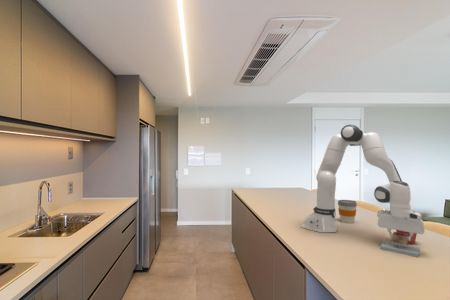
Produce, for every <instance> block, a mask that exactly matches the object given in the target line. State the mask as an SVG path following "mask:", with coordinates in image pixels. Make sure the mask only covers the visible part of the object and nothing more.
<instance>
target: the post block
mask: <svg viewBox="0 0 450 300" xmlns="http://www.w3.org/2000/svg"><path fill="white" fill-rule="evenodd" d="M379 247H380V250H384V251H388V252H391V253H392V252H393V253H398V254H402V255H406V256H411V257H416V258H419V256H420V251H421V246H414V245H411V244H407V245H404V244H399V243H394V242H392V241H390V240H383V242H382V243H381V244H380V245H379Z"/></svg>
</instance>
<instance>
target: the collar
mask: <svg viewBox="0 0 450 300" xmlns="http://www.w3.org/2000/svg"><path fill="white" fill-rule="evenodd" d="M407 236H408V234H404V233H398V232H396V231H393V233H392V237H391V238H392V239H391V242H394V243H399V244H404V245H408V244H407V242H408V240H407Z"/></svg>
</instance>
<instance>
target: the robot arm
mask: <svg viewBox="0 0 450 300" xmlns="http://www.w3.org/2000/svg"><path fill="white" fill-rule="evenodd" d="M348 146H350V147H357V146H360V147H361V149H362V152H363V156H364V160H365V161H366V162H367V164H369V165H370V166H374V167H377V168H378V169H380V170H382V171H383V172H384V173H385V175H386V177H387V179H388V181H389V183H388V184H384V185H378V186H377V187H376V188H375V189H374V192H373V196H374V198H375V200H376V201H377V202H378V203H381V204H390V205H389V210H384V209H381V210H377V215H376V216H377V227H379V228H383V229H387V232H388V234H389V237H390V238H392V234H393V233H392V230H394V231H396V230H400V231H405V232H410V234H411V235H410V236H409V237H408V236H407V240H408V241H411V237H412V235H413V233H417V234H418V235H423V234H425V223H424V220H423V219H422V214H421V212H418V211H415V210H413V209H411V204H410V202H411V198H412V197H411V187H410V185H409V184H408V183H407V182H405V181H402V178H401V176H400V174H399V171H398V169H397V167H396V164H395V163H394V161H393V160H392V159H391V158H390V157H389V155H388V154H387V152H386V150H385V147H384V144H383V141H382V139H381V137H380V135H379V134H378V133H376V132H373V131H371V132H366V131H365V130H363V128H361V127H359V126H357V125H354V124H346V125H344V126H343V127H342V128H341V130H340V134H339V133H335V134H334V135H332V136H331V138H330V140H329V142H328V144H327V147H326V150H325V153H324V155H323V159H322V161H321V164H319V165H320V166H319V168H318V171H317V174H316V177H315V179H316V181H317V182H316V183H317V188H316V206H315V207H313V209H312V210H313V212H312V213H310V214H309V215H308V216H306V218H304V219H305V220H304V223H302V224H301V228H303V229H306V230H309V231H314V232H318V233H336V232H338V229H337V228H338V227H337V223H336V205H335V203H336V197H335V196H336V189H337V187H336V186H337V177H336V174H337V173H338V170H339V168H340V166H341V165H342V161H343V158H344V155H345V153H346V149H347V148H348Z"/></svg>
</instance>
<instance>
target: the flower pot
mask: <svg viewBox="0 0 450 300" xmlns="http://www.w3.org/2000/svg"><path fill="white" fill-rule="evenodd" d="M395 232H398V233H404V234H408V237H409V236H410V235H411V234H410V232H405V231H400V230H395ZM416 238H417V233H413V235H412V237H411V241H408V242H407V245H414V244H415V243H416V240H417V239H416Z"/></svg>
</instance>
